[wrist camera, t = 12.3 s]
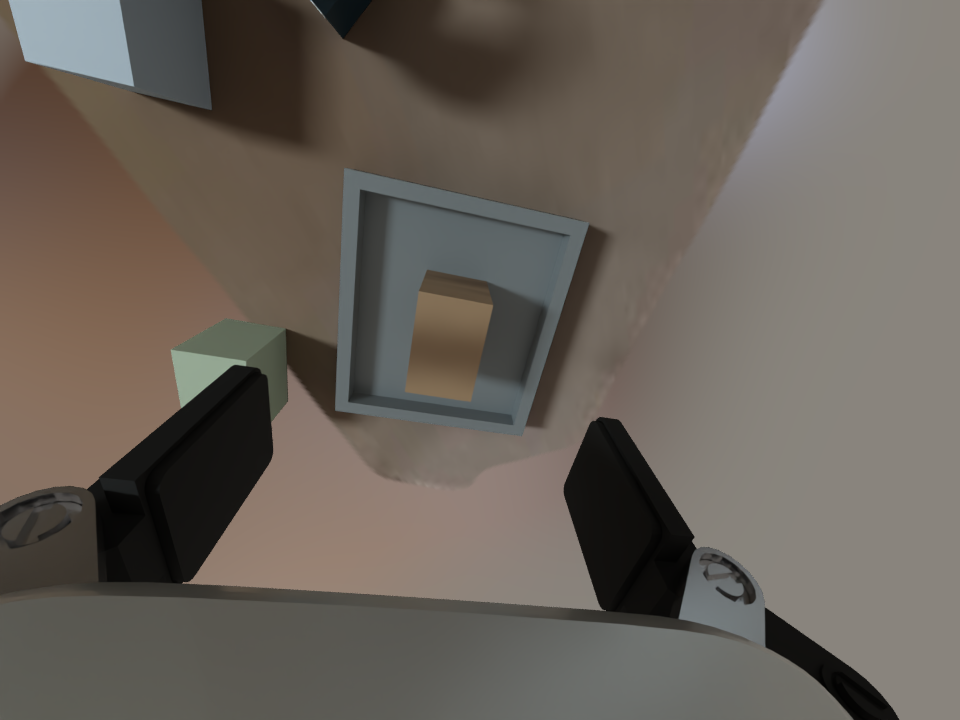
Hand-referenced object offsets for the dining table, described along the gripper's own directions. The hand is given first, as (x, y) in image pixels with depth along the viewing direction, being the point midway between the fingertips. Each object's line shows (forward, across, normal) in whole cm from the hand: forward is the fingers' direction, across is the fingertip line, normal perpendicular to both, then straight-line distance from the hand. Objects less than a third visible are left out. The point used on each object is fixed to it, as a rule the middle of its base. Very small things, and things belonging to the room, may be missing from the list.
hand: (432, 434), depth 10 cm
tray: (+19, 0, +3) cm, 19 cm away
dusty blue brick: (+20, +18, -11) cm, 29 cm away
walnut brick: (+18, 0, +3) cm, 19 cm away
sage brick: (+19, +14, +10) cm, 26 cm away
